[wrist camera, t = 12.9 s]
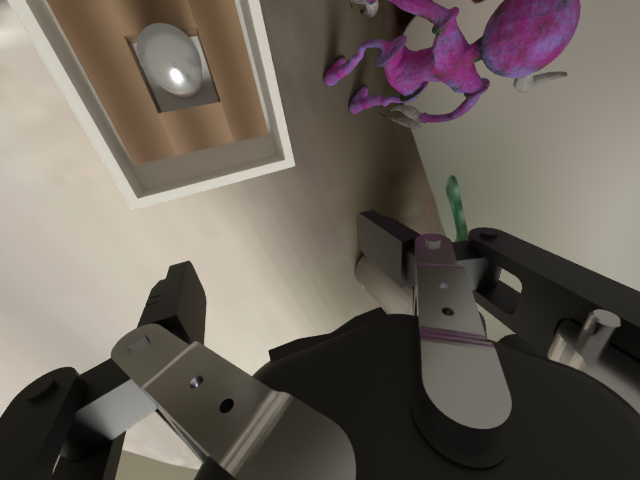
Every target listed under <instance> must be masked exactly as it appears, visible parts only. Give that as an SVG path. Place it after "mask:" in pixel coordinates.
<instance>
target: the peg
mask: <svg viewBox="0 0 640 480" xmlns="http://www.w3.org/2000/svg"><path fill="white" fill-rule="evenodd" d="M137 55H138V59H139V62H140V64H141V66H142V68H143V70H144V71H145V73H146V74H147V75H148V76H149V77H150V78H151V79H152V80H153V81H154V82H155V83H156V84H158V85H159V86H161V87H162V88H164V89H165V90H167V91H168V92H169V93H171V94H172V95H174V96H176V97H178V98H182V99H190V98H193V97H195V96H196V95H197V94H198V93H199V92H200V90H201V87H202V63H201V58H200V54H199V52H198V50H197V48H196V46H195V44H194V43H193V41H192V40H191V39H190V38H189V37H188V36H187V35H186V34H185V33H184V32H183V31H181V30H180V29H178V28H176V27H175V26H172V25H169V24H165V23H155V24H151V25H149V26H147V27H146V28H145V29H143V30H142V32H141V33H140V35H139V37H138V40H137Z"/></svg>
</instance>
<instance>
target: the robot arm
mask: <svg viewBox="0 0 640 480" xmlns="http://www.w3.org/2000/svg"><path fill="white" fill-rule="evenodd" d="M357 233H358V243H359V247H360V249H361V251H362V252H363V253H364V254H363V256H362V257H361V258H360V260H359V261H358V263H357V266H356V270H355V275H356V279H357V280H358V282H359V283H360V284H361V285H362V286H363V288H365V289H366V291H367V292H368V293H369V294H370V295H371V296H372V297H373V298H374V299H375V300H376V301H377V302H378V304H379V305H380V306H381V307H382V308H383V309H384V310H385V311H386V312H387V313H388V314H386V313H385V311H384V310H383V309H382V308H381V307H379V308H376V309H374V310H371V311H369V312H366V313H364V314H361V315H358V316H356V317H354V318H353V319H351V320H350V321H348V322H347V323H345V324H344V325H342V326H341V327H340V328H338V329H337V330H335V331H334V332H332V333H329V334H324V335H318V336H312V337H306V338H300V339H297V340H294V341H292V342H289V343H286V344H284V345H281V346H279V347H276V348H274V349H271V350H268V351H269V355H270V360H271V361H269V362H268V363H266V364H265V365H264V366H262V367H261V368H260V369H259V370H258V371H257V372H256V373H255V374H254V375H253V376H250V375H249V374H247V373H246V372H244V371H243V370H241V369H240V368H238V367H236V366H235V365H233V364H232V363H230V362H229V361H227V360H226V359H224V358H222V357H221V356H219V355H218V354H216V353H215V352H213V351H212V350H210V349H208V348H207V347H205V346H204V334H205V317H206V296H205V292H204V289H203V287H202V285H201V283H200V280H199V278H198V276H197V274H196V272H195V269H194V267H193V265H192V263H191V262H190V261H186V262H182V263H179V264H175V265H172V266H170V267H169V270H168V273H167V276H166V279H164V280H160V281H159V282H158V283H157V284H156V285H155V286H154V287H153V288H152V290H151V292H150V295H149V297H148V299H149V300H147V302H146V307H145V308H144V310H143V313H142V316H141V318H140V321H139V323H138V326H137V328H136V329H134V330H132V331H131V332H129V333H127V334H126V335H125V336H123V337H122V338H121V339H120V340H119V341H118V342H117V343H116V345H115V346H114V347H113V349H112V352H111V358H110V359H108V360H107V361H105V362H103V363H101V364H99V365H97V366H96V367H94V368H92V369H90V370H88V371H86V372H85V373H83V374H81V375H80V374H79V373H78V372H77V371H76V370H75V369H74V368H72V367H63V368H59V369H56V370H53V371H51V372H49V373H47V374H45V375H43V376H41V377H40V378H38V379H36V380H35V381H33V382H32V383H31V384H29V385H28V386H27V387H25V388H24V389H23V390H22V391H21V392H20V393H19V394H18V395H17V396H16V397H15V398H14V399H13V400H12V401H11V403H10V404H9V406H8V407H7V409H6V410H5V412H4V413H3V415H2V416H1V418H0V480H115V477H116V472H117V468H118V464H119V460H120V455H121V451H122V447H123V442H124V438H125V434H126V430H127V429H129V428H130V427H132V426H133V425H135V424H136V423H137V422H139V421H140V420H142V419H143V418H145V417H146V416H148V415H149V414H151V413H152V412H154V411H155V412H156V413H157V414H158V415H159V416H160V417H161V418H162V420H163V421H164V422H165V423H166V424H167V425H168V426H169V427H170V428H171V429H172V430H173V431H174V432H175V433H176V434H177V435H178V436H179V437H180V438H181V440H182V441H183V442H184V443H185V444H186V445H187V446H188V447H189V448H190V449H191V451H192V452H193V453H194V454H195V455H196V456H197V457H198V459H199V460H200V461H201V462H202V465H201V467H200V469H199V471H198V473H197V475H196V477H195V479H194V480H640V292H639V291H637V290H634V289H632V288H630V287H628V286H625V285H623V284H621V283H619V282H616V281H614V280H612V279H609V278H607V277H605V276H603V275H601V274H598V273H596V272H594V271H591V270H589V269H587V268H584V267H582V266H580V265H578V264H575V263H573V262H571V261H569V260H566V259H564V258H562V257H560V256H558V255H555V254H553V253H551V252H549V251H546V250H544V249H542V248H540V247H537V246H535V245H533V244H530V243H528V242H526V241H524V240H521V239H519V238H517V237H515V236H512V235H510V234H508V233H506V232H503V231H501V230H498V229H493V228H484V227H483V228H475V229H472V230H471V231H469V235H468V241H459V242H451V240H450V239H449V238H447V237H445V236H443V235H439V234H423V235H420V234H419V233H417V232H415V231H414V230H412V229H410V228H408V227H407V226H406V227H405V225H403V224H402V223H400V222H398V221H396V220H395V219H393V218H389V217H385V216H382V215H380V214H378V213H377V212H375V211H373V210H369V211H366V212H362V213H358V214H357ZM502 268H503V269H505V270H506V271H508V272H510V273H511V274H513V275H515V276H516V277H517V278H518V279H519V280H520V281H521V283H522V291H521V293H519V292H517V291H516V290H514V289H513V288H511V287H510V286H508V285H506V284H505V283H503V282H502V281H500V280H499V277H500V274H501V270H502ZM476 303H478V304H479V305H480V306H481V307H483V308H484V309H485V310H487V311H488V312H489V313H490V314H492V315H493V316H494V317H495V318H497V319H498V320H499V321H501V322H502V323H503V324H504V325H506V326H507V327H508V328H510V329H511V330H512V331H513V332H515V333H516V334H511V335H507V336H505V337H503V338H501V339H500V340H499V341H498V342H495V341H492V340H489V339H487V334H486V325H485V320H484V317H483V316H482V314H481V313H480V312H479V311H478V308H477V305H476ZM59 455H61V456H60V458H59V461H58V464H57V466H56V468H55V471H54V473H53V468H54V465H55V463H56V461H57V458H58V456H59ZM52 473H53V475H52Z"/></svg>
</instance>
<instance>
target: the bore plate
mask: <svg viewBox="0 0 640 480" xmlns="http://www.w3.org/2000/svg"><path fill="white" fill-rule="evenodd" d="M47 2H48V4H49V6H50V8H51V9H52V11H53V13H54V15H55V17H56V19H57V21H58V23H59V24H60V26H61V28H62V30H63V32H64V34H65V36H66V38H67V39H68V41H69V43H70V45H71V47H72V49H73V51H74V52H75V54H76V56H77V58H78V60H79V62H80V64H81V66H82V67H83V69H84V71H85V73H86V75H87V77H88V79H89V81H90V82H91V84H92V86H93V88H94V90H95V92H96V94H97V96H98V97H99V99H100V101H101V103H102V105H103V107H104V109H105V111H106V112H107V114H108V116H109V118H110V120H111V122H112V124H113V125H114V127H115V129H116V131H117V133H118V135H119V137H120V139H121V140H122V142H123V144H124V146H125V148H126V150H127V152H128V154H129V155H130V157H131V159H132V161H133V163H134V165H138V164H143V163H147V162H151V161H156V160H160V159H164V158H169V157H173V156H177V155H181V154H186V153H190V152H194V151H199V150H203V149H207V148H212V147H216V146H220V145H225V144H229V143H233V142H237V141H242V140H246V139H250V138H255V137H259V136H263V135H268V130H267V126H266V122H265V118H264V114H263V110H262V106H261V102H260V98H259V94H258V90H257V86H256V82H255V79H254V75H253V71H252V67H251V63H250V59H249V55H248V51H247V47H246V43H245V39H244V35H243V31H242V27H241V24H240V20H239V16H238V12H237V8H236V4H235V0H47ZM155 23H165V24H169V25H172V26H175V27H176V28H178V29H180V30H181V31H183V32H184V33H185V34H186V35H187V36H188V37H194V36H198V40H199V43H200V46H201V49H202V52H203V55H204V58H205V61H206V64H207V67H208V70H209V73H210V76H211V79H212V82H213V85H214V88H215V91H216V94H217V98H218V101H219V102H216V103H211V104H206V105H201V106H195V107H190V108H185V109H179V110H174V111H169V112H163V113H162V112H161V110H160V107H159V105H158V103H157V100H156V98H155V96H154V94H153V91H152V89H151V87H150V84H149V82H148V80H147V77H146V75H145V73H144V71H143V68H142V66H141V64H140V62H139V59H138V57H137V54H136V52H135V50H134V48H133V45H132V44H135V43H137V40H138V37H139V35H140V33H141V32H142V30H143V29H145V28H146V27H147V26H149V25H151V24H155Z"/></svg>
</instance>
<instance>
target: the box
mask: <svg viewBox="0 0 640 480" xmlns="http://www.w3.org/2000/svg"><path fill="white" fill-rule="evenodd" d="M8 2H9V4H10V6H11V7H12V9H13V11H14V12H15V14H16V16H17V17H18V19H19V21H20V22H21V24H22V26H23V27H24V29H25V31H26V33H27V34H28V36H29V38H30V39H31V41H32V43H33V44H34V46H35V48H36V49H37V51H38V53H39V54H40V56H41V58H42V60H43V61H44V63H45V65H46V66H47V68H48V70H49V71H50V73H51V75H52V76H53V78H54V80H55V81H56V83H57V85H58V87H59V88H60V90H61V92H62V93H63V95H64V97H65V98H66V100H67V102H68V103H69V105H70V107H71V108H72V110H73V112H74V114H75V115H76V117H77V119H78V120H79V122H80V124H81V125H82V127H83V129H84V130H85V132H86V134H87V135H88V137H89V139H90V141H91V142H92V144H93V146H94V147H95V149H96V151H97V152H98V154H99V156H100V157H101V159H102V161H103V162H104V164H105V166H106V168H107V169H108V171H109V173H110V174H111V176H112V178H113V179H114V181H115V183H116V184H117V186H118V188H119V189H120V191H121V193H122V195H123V196H124V198H125V200H126V201H127V203H128V205H129V206H130V208H131V210H136V209H140V208H143V207H147V206H151V205H154V204H158V203H162V202H165V201H169V200H173V199H176V198H180V197H184V196H187V195H191V194H195V193H198V192H202V191H206V190H209V189H213V188H217V187H220V186H224V185H228V184H231V183H235V182H239V181H242V180H246V179H250V178H253V177H257V176H261V175H264V174H268V173H272V172H275V171H279V170H283V169H286V168H290V167H293V166H295V163H294V158H293V154H292V149H291V145H290V140H289V135H288V131H287V126H286V122H285V117H284V112H283V108H282V103H281V99H280V94H279V90H278V85H277V80H276V76H275V71H274V67H273V62H272V57H271V53H270V48H269V44H268V39H267V35H266V30H265V25H264V21H263V16H262V12H261V7H260V2H259V0H235V4H236V8H237V12H238V16H239V20H240V24H241V27H242V31H243V35H244V39H245V43H246V47H247V51H248V55H249V59H250V63H251V67H252V71H253V75H254V79H255V82H256V86H257V90H258V94H259V98H260V102H261V106H262V110H263V114H264V118H265V122H266V126H267V130H268V135H263V136H259V137H255V138H250V139H246V140H242V141H237V142H233V143H229V144H225V145H220V146H216V147H212V148H207V149H203V150H199V151H194V152H190V153H186V154H181V155H177V156H173V157H169V158H164V159H160V160H156V161H151V162H147V163H143V164H138V165H134V163H133V161H132V159H131V157H130V155H129V154H128V152H127V150H126V148H125V146H124V144H123V142H122V140H121V139H120V137H119V135H118V133H117V131H116V129H115V127H114V125H113V124H112V122H111V120H110V118H109V116H108V114H107V112H106V111H105V109H104V107H103V105H102V103H101V101H100V99H99V97H98V96H97V94H96V92H95V90H94V88H93V86H92V84H91V82H90V81H89V79H88V77H87V75H86V73H85V71H84V69H83V67H82V66H81V64H80V62H79V60H78V58H77V56H76V54H75V52H74V51H73V49H72V47H71V45H70V43H69V41H68V39H67V38H66V36H65V34H64V32H63V30H62V28H61V26H60V24H59V23H58V21H57V19H56V17H55V15H54V13H53V11H52V9H51V8H50V6H49V4H48V2H47V0H8ZM189 38H190V39H191V40H192V41H193V43H194V44H195V46H196V48H197V50H198V52H199V54H200V58H201V63H202V87H201V90H200V92H199V93H198V94H197V95H196V96H195V97H193V98H190V99H182V98H178V97H176V96H174V95H172V94H171V93H169V92H168V91H167V90H165V89H164V88H162V87H161V86H159V85H158V84H156V83H155V82H154V81H153V80H152V79H151V78H150V77H149V76H148V75H147V74H146V73H145V71H144V70H143V71H144V73H145V75H146V77H147V80H148V82H149V84H150V87H151V89H152V91H153V94H154V96H155V98H156V100H157V103H158V105H159V107H160V110H161V112H162V113H163V112H169V111H174V110H179V109H185V108H190V107H195V106H201V105H206V104H211V103H216V102H219V101H218V98H217V94H216V91H215V88H214V85H213V82H212V79H211V76H210V73H209V70H208V67H207V64H206V61H205V58H204V55H203V52H202V49H201V46H200V43H199V40H198V36H194V37H189ZM132 45H133V48H134V50H135V52H136V54H137V43H135V44H132ZM137 57H138V55H137Z"/></svg>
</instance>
